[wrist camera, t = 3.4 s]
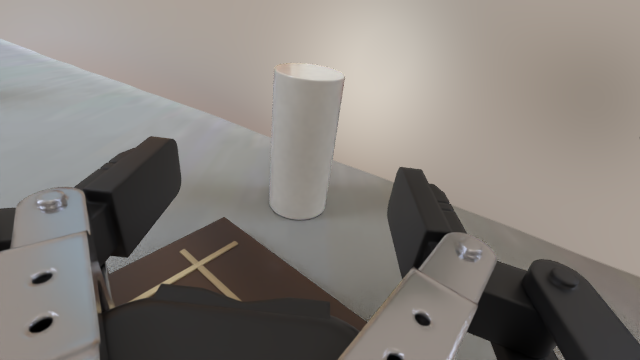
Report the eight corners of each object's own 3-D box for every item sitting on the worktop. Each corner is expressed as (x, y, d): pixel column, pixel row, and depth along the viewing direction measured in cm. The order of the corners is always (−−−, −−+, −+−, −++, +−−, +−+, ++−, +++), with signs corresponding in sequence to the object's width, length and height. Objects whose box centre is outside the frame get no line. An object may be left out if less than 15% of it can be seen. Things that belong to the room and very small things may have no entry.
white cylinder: (296, 181, 27) (306, 60, 22) (336, 204, 25) (358, 75, 20) (256, 201, 24) (259, 65, 19) (299, 228, 22) (314, 83, 17)
